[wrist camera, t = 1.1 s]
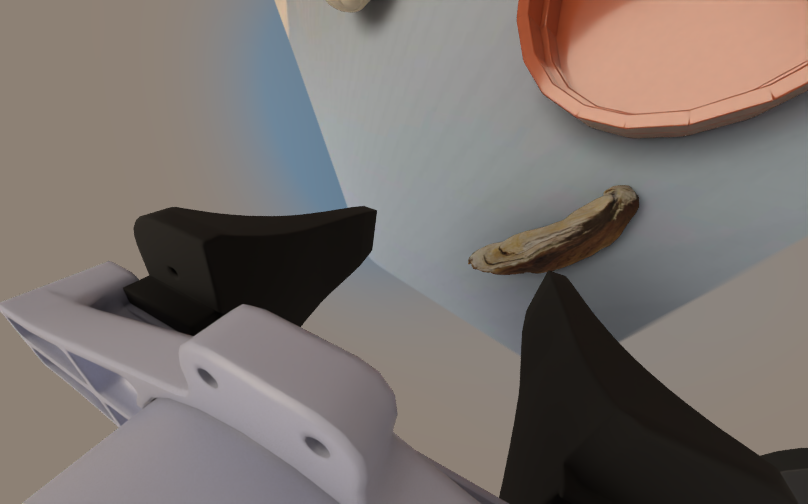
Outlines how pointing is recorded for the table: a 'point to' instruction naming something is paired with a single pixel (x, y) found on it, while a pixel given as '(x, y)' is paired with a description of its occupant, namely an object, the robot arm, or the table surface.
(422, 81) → the table surface
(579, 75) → the bowl
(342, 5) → the cream ball
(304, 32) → the table surface
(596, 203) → the oyster shell
